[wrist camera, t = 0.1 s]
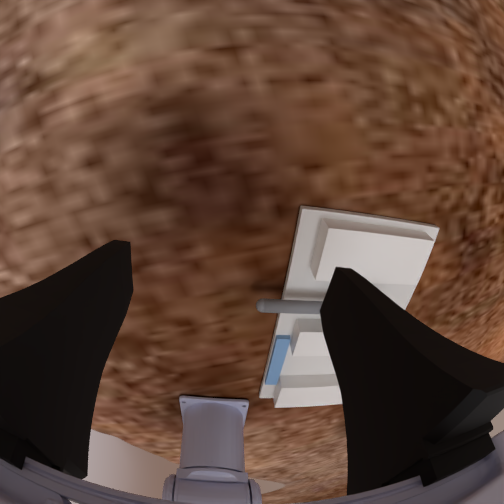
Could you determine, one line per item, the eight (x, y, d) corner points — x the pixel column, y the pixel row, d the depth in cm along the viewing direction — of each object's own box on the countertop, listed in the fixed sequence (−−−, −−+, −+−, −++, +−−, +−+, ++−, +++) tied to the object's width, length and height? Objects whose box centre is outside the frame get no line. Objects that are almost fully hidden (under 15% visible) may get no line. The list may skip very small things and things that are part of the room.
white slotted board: (355, 389, 31) (360, 403, 29) (258, 393, 30) (260, 409, 28) (435, 225, 21) (450, 237, 19) (300, 205, 19) (307, 218, 17)
